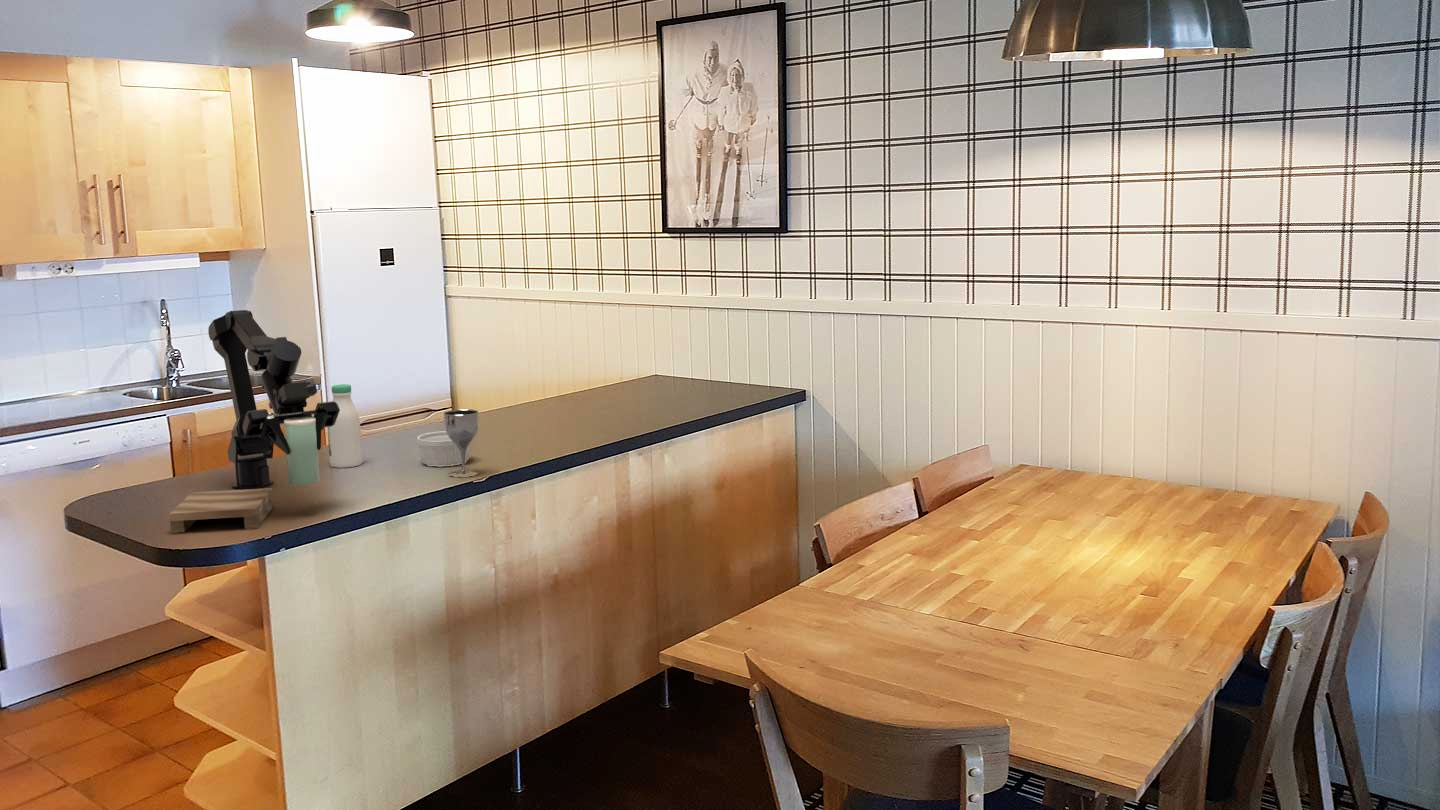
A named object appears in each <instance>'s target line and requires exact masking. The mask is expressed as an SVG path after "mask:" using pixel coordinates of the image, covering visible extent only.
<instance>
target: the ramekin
mask: <svg viewBox="0 0 1440 810" xmlns="http://www.w3.org/2000/svg"><path fill="white" fill-rule="evenodd" d="M416 441H417V444H418V450H419V456H420V460H421V463H423V465H425V464H427V465H451V464H457V463H462V459H461V453H460V450H459V448H458V447H457V446H456V444H455V443H454V442H453V441H452V440H451V439H450V438H449V437H448V435H447V432H446V431H445V430H442V431H432V432H427V433H422V434H420V435H419V436H418V435H417V438H416ZM471 443H472V442H471ZM471 443H470V444H469V445H468V447H467V449H466V455H465V461H467V460H468V459H470V456H471ZM468 461H469V460H468ZM468 461H467V462H468Z"/></svg>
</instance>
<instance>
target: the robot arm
mask: <svg viewBox="0 0 1440 810" xmlns="http://www.w3.org/2000/svg"><path fill="white" fill-rule="evenodd" d="M208 337H209V340H210V341H212V345H213V348H214V350H215V352H217V354H218V355H219V356H221V358H222V359H223V360H224V365H225V370H226V371H225V372H226V375H227V380H228V385H229V389H230V390H229V391H230V395H231V400H232V405H233V410H234V414H235V422H234V425H233V427H232V429H231V433H230V434H231V438H230V441H229V444H228V448H227V450H226V451H227V458H228V461H229V462H231V463H233V464H234V466H235V467H234V468H235V477H236V484H233V485H231V486H232V487H231V488H232V489H243V490H247V489H262V488H263V487H266V486H269V485H271V484H273V483H274V481H273V480H271V479H270V467H269V465H268V460H267V459H271V460H272V459H273V457H274V446H276V447H277V448H278V449H280V450H281V451H282V452H284V453H285V454H286V455H287V454H289V453H290V449H289V446H288V443H287V441H286V438H285V433H284V432H283V430H282V428H281V425H284V420H285V419H288V418H294V417H314V418H316V436H317V451H320V450H321V449H322V431H323V430H324V429H325V428H328V427H330V426H333V425H334V424H335V422H336V419H337V417H338V414H339V411H340V409H339V406H338V404H337V403H336V402H334V401H333V400H331V401H322V402H317V403H316V406H315V409H313V410H305V408H306V407H307V405H308V403H307V402H308V401H307V399H309V398H310V397H313V396H315V395H316V394H317V393H318V388H317V385H316V384H317V383H315V380H314V378H312V379H311V378H310V379H309V378H308V379H305V380H304V381H301V382H294V381H293V379H292V376H294V375H295V374H296V371H297V368H298V365H299V362H300V359H301V356H302V348H301V347H300V346H299V345H298V344H297V343H295V342H294V341H290V340H288V339H287V337H286V336H281V337H280V336H279V337H276V338H274V337H270V336H268V335H267V334H266V333H265V331H264V330H263V329H262V328H261V326H260V325H259V323H257V321H256V320H255V318H254V316H253V312H252V311H251V310H248V309H241V310H230V311H227V312H226V313H225V314H224V315H222V316H220V317H217V318H216V319H213V320H212V321H211V322H210V323H209V325H208ZM248 365H249V366H248ZM249 367H251V368H252V370H253V371H254V372H260V371H263V372H262V374H261V376H260V380H261V382H262V383H261V388H262V389H264V390H265V393H266V395H267V398H268V400H269V404H268V407H269V409H270V410H271V409H272V412H268V410H267V408H266V409H265V408H263V409H261V408H260V409H257V406H256V399H255V395H254V389H253V386H252V381H251V377H250V371H249Z"/></svg>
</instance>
